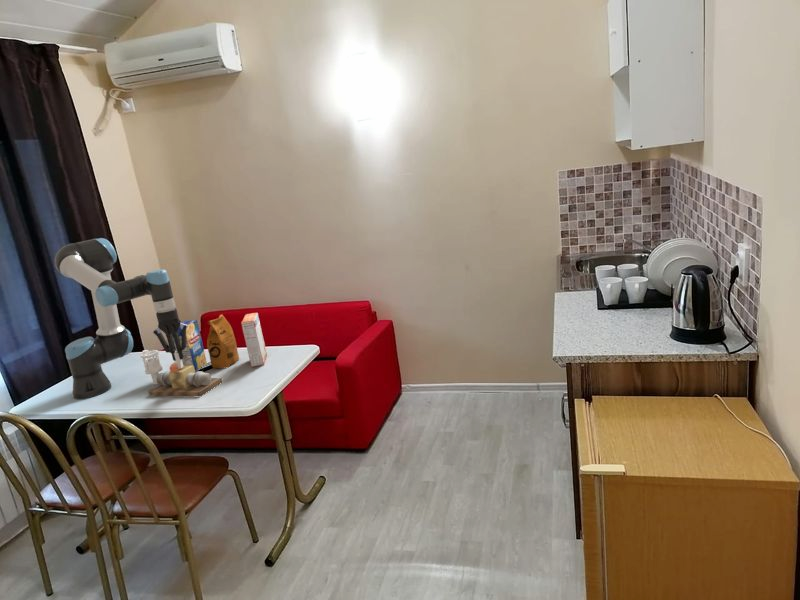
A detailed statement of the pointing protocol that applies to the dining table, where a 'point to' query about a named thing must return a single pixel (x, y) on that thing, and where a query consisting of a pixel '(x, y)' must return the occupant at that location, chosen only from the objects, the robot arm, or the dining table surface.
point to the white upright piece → (152, 364)
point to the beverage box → (192, 346)
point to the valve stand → (184, 383)
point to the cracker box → (254, 339)
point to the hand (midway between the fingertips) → (180, 367)
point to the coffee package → (221, 343)
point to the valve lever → (174, 367)
